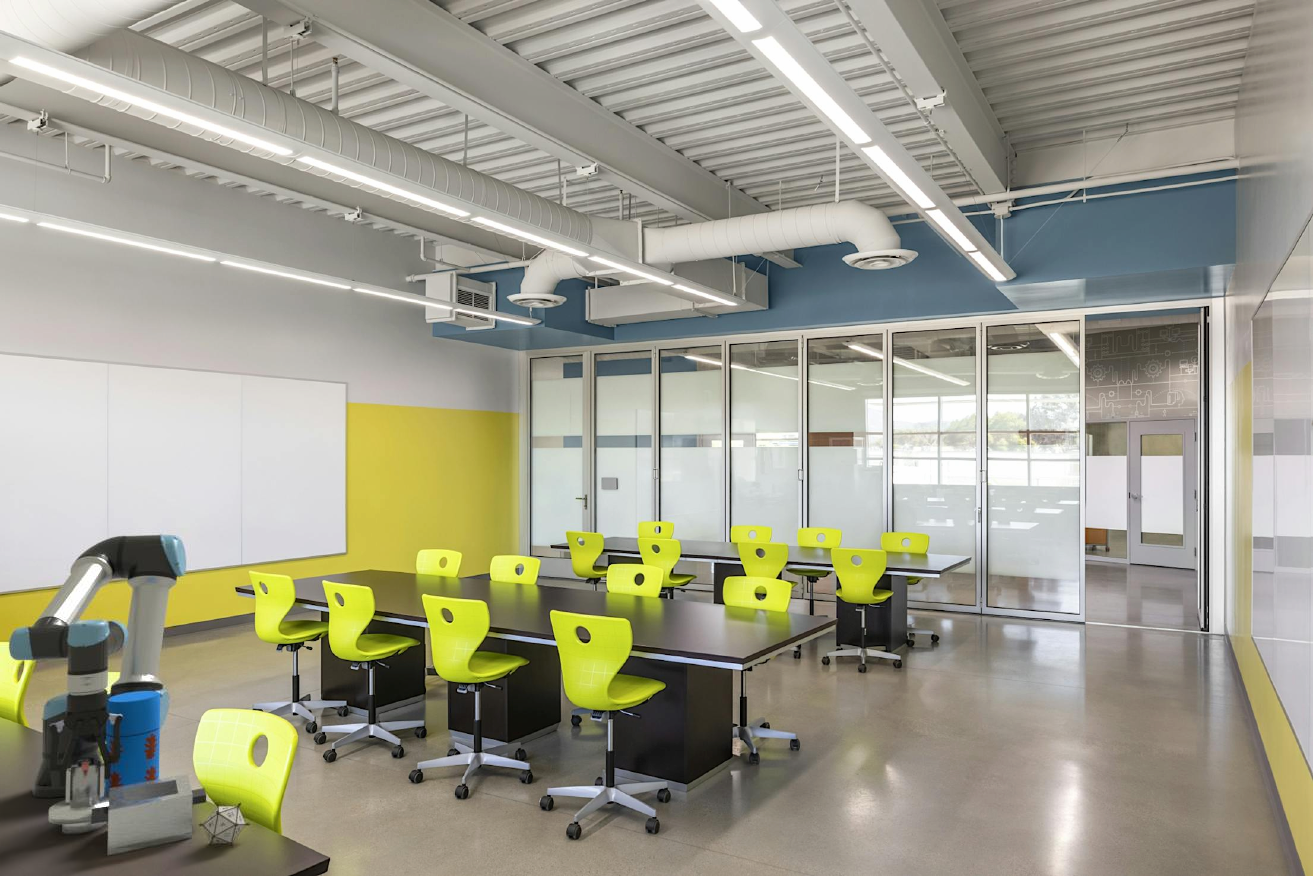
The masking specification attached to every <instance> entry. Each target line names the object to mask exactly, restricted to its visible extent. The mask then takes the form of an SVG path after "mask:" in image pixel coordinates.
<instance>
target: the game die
mask: <svg viewBox="0 0 1313 876" xmlns="http://www.w3.org/2000/svg"><path fill="white" fill-rule="evenodd" d="M215 805H216V808H215V809H214V810H213V811H212V812H211V814H210V815H209V816H208V817H207V819H206V820H205V821H204V822H203V823H198V826H199V827H203V829H204V832H205V834H206V836H207V837H208V838H207V839H208V841H209V843H208V844H207V848H209V847H211V846H212V844H230V847H232V848H233V847H234V843H233V842H234V841H235V839H237V837H238V836H239V835H240V834H241V832H242V831H243V829H244V828H245V827H246V826H251V823H250V822H246V820H245V817H244V815H243V813H242V811H241V809H240V807H241V806H242V802H239V803H238V804H237V805H220V804H219V802H216V803H215Z"/></svg>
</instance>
